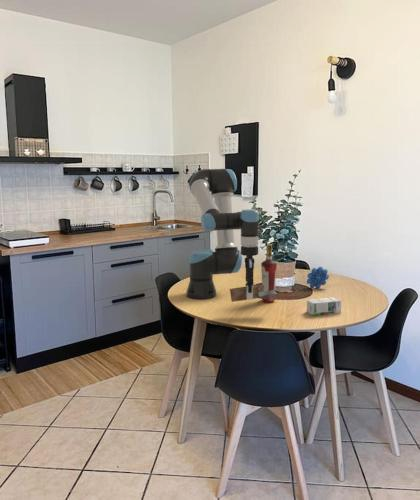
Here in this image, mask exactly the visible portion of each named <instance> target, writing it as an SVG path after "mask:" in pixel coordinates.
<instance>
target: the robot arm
mask: <svg viewBox="0 0 420 500" xmlns="http://www.w3.org/2000/svg"><path fill="white" fill-rule="evenodd" d="M237 187H238V179H237V177H236V174H235V172H234V170H232V169H229V168H203V169H200V170H198V171H196V172H195V173H194V174H192V176H191V178H190V180H189V190H190V192H191V194H192V195H193V196H194V197H195V198H196V202H197V203H198V207H199V209H200V211H201V213H202V215H201V218H200V224H201V228H202V230H203V231H206V232H207V231H210V232H213V231H216V239H217V241H216V242H217V243H216V244H217V245H216V246H215V247H214V251H213V249H212V248H201V249H196V250H193V251H192V252H190V254H189V261H188V262H189V282H188V286H187V288H186V296H187V297H188V298H190V299H195V300H209V299H212V298H215V297H216V296H217V290H216V289H217V288H216V286H215V283H214V280H213V279H214V277H213V276H214V275H228V274H229V275H230V274H236V273H238V272H240V270H241V268H242V264H243V256H245V258H244V267H245V278H244V279H245V284H244V285H245V287H246V286H247V300H246V301H249V300H251V301H253V300H254V299H253V285H255V283H254V269H255V259H254V257H253V256H258V255H259V241H260V240H261V239H260V237H259V223H260V222H259V220H260V218H259V216H260V215H259V210H257V209H252V208H251V209H247V208H246V209H242V210H241V211H237V212H233V209H232V207H233V205H232V197H233V196H234V192H236V191H237V189H238V188H237ZM234 230H240V245H241V246H240V250H239V249H238V246H237V244H236V243H235V235H234Z"/></svg>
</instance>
